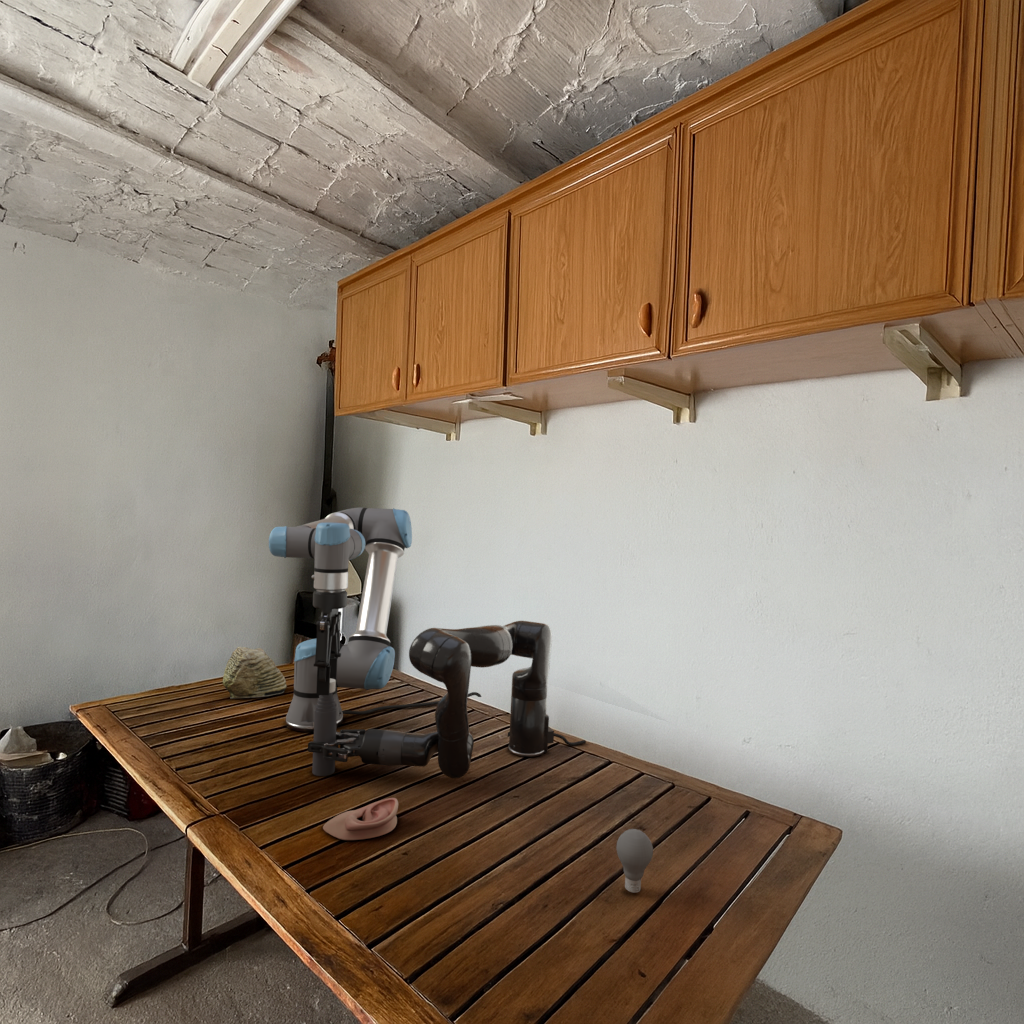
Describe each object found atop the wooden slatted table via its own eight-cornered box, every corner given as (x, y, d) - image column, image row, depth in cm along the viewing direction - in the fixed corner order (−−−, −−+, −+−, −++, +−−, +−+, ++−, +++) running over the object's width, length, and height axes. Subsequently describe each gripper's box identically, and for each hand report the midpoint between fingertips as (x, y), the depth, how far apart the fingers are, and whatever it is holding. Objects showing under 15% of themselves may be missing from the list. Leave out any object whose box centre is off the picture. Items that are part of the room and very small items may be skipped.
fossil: (218, 695, 195) (220, 647, 195) (278, 685, 208) (279, 640, 207) (228, 703, 189) (230, 653, 188) (289, 692, 201) (290, 645, 201)
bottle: (323, 778, 143) (326, 687, 142) (307, 772, 145) (310, 683, 145) (339, 770, 147) (342, 682, 146) (323, 765, 149) (327, 678, 149)
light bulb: (610, 879, 108) (613, 822, 108) (644, 879, 109) (647, 822, 109) (619, 902, 102) (622, 840, 102) (655, 901, 103) (658, 840, 103)
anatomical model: (315, 814, 118) (343, 787, 129) (314, 835, 118) (343, 807, 129) (382, 825, 115) (405, 796, 127) (381, 846, 116) (404, 816, 127)
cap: (335, 687, 148) (335, 677, 148) (335, 692, 144) (335, 682, 144) (317, 688, 147) (318, 678, 147) (317, 693, 143) (318, 683, 143)
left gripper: (324, 583, 155) (320, 677, 155) (302, 595, 135) (298, 703, 136) (355, 584, 155) (351, 678, 155) (337, 597, 136) (333, 703, 136)
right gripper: (394, 720, 152) (325, 715, 153) (376, 743, 137) (300, 737, 139) (393, 751, 152) (324, 746, 153) (375, 777, 138) (299, 771, 139)
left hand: (326, 689), depth 146 cm, fingers open, 6 cm apart
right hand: (313, 741), depth 146 cm, fingers closed on bottle, 5 cm apart
